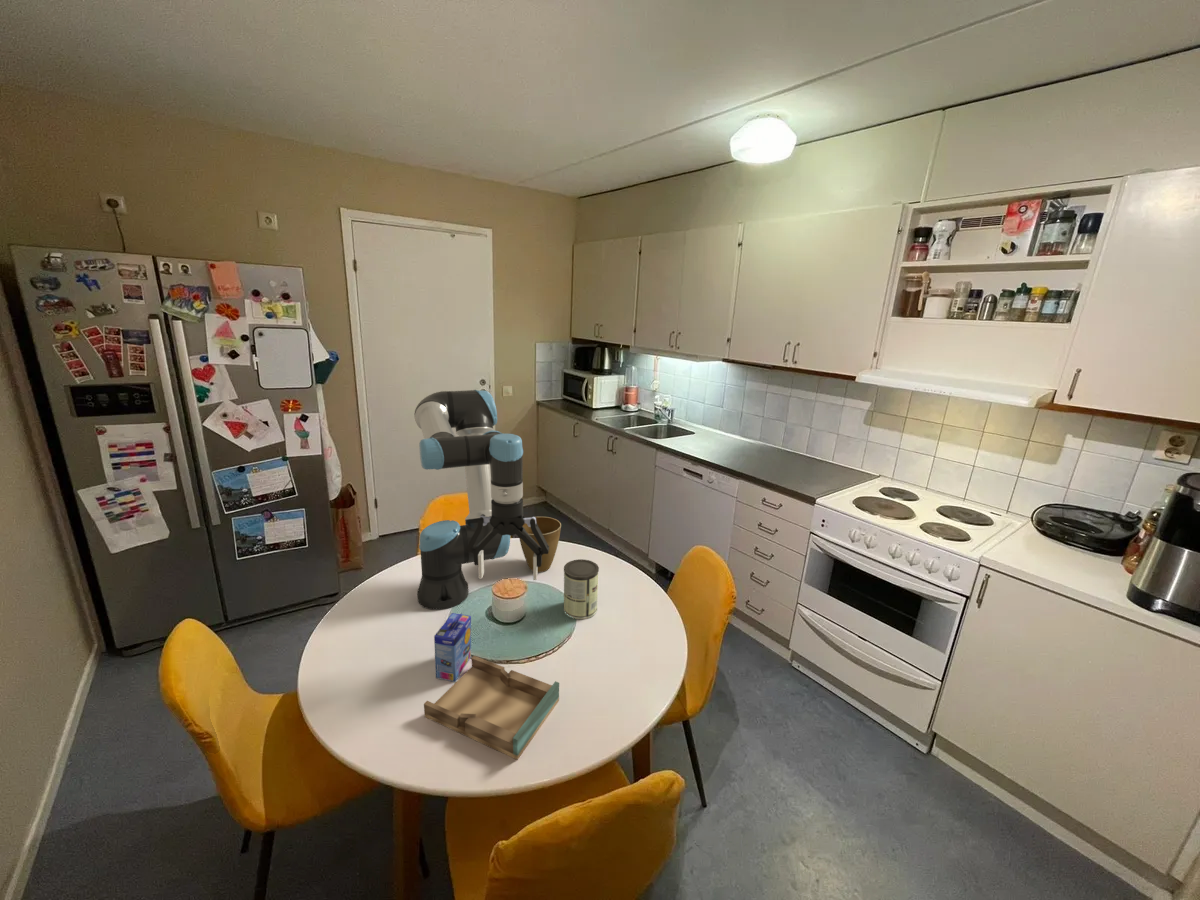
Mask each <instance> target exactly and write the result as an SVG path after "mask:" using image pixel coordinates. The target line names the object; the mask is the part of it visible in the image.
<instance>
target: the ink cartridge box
mask: <svg viewBox="0 0 1200 900" xmlns="http://www.w3.org/2000/svg"><path fill="white" fill-rule="evenodd" d="M433 638H434V639H433V641H434V662H435V663H434V664H435V665H434V666H435V678H436V679H440V680H444V681H448V682H453V683H456V682H457V681H458V678H459V677H460V674H461V673H462V672H463V670H464V668H465V667H466V666H467V664H468V663H469V661H470V659H471V658H472V615H468V614H463V613H462V612H461V613H456V612H452V613H450V615H449V616H448V617H447V619H446V620H445V622H444V623H443V624H442V625H441V627H440V628H439V629H438V631H437V632H436V633H435V634H434V636H433Z"/></svg>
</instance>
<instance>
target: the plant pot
mask: <svg viewBox="0 0 1200 900" xmlns="http://www.w3.org/2000/svg"><path fill="white" fill-rule="evenodd" d="M536 521H537V525H538V527H539V529H540V531H541V533H542V534H543V536H544V538H545V540H546V542H547V544H548V546H549V552H548V554H543V555H542V564H541V567H538V570H537V573H543V572H546V571H549V569H551V566H552V565H553V561H554V560H555V559H554V558H555V556H556V553H557V549H558V546H559V545H558V544H559V542H560V541H559V540H560V535H561V530H562V529H561V528H562V523H561V521H559V520H558V519H556V518H553V517H551V516H550V517H549V516H536ZM523 527H524V528H525V530H526V532H527V533H528V534H529V535H530V536H531V537H532V538H533V539H534V541H535V542H536V543H537V544H538V545H539V543H538V541H537V539H536V538H535V536H534V534H533V532H532V530H531V527H529V526H528V525H527V524H526V523H524V525H523ZM518 538H519V537H518ZM519 544H520V548H521V550H522V553H523V554H522V555H524V558H525V562H526V564H527V565H528V568H529V570H530V571H532V572H533V556H534V552H533V551H532V550H531V549H530V548H529V547H528V545H527V544H526V543H525V542H524V541H523V540H522V539H521V538H519ZM539 546H540V545H539Z"/></svg>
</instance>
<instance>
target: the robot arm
mask: <svg viewBox="0 0 1200 900" xmlns="http://www.w3.org/2000/svg"><path fill="white" fill-rule="evenodd" d="M414 419H415V424H416V425H417V426H418V428H419V429H420V430H421V433H422V436H423V439H420V441H419V458H420V465H421V468H422V469H424V470H438V471H439V470H442V469H453V468H462V467H463V468H464V470H465V471H464V473H465V481H466V489H467V490H466V491H467V492H466V493H467V500H468V502H467V503H468V511H469V513H468V515H467V516H466V517H465V518H464V522H465V524H463V525H462V524H460V523H459V522H458V521H456V520H450V519H447V520H446V519H445V520H440V521H436V522H432V523H431V524H429V525H427V526H426V527H425V528H423V529H422V530H421V532H420V534H419V545H418V549H419V551H420V565H421V566H420V567H421V578H420V581H419V582H420V583H419V585H418V588H417V593H416V595H417V596H416V597H417V603H418V604H419V605H420V606H422V607H423V608H425V609H427V610H428V609H429V610H446V609H451V608H453V607H455V606H457V605H460V604H462V603H463V602H464V601H466V599H467V598H468V596H469V593H470V591H469V590H470V589H469V584H468V582H467V580H466V578H465V574H464V572H463V569H462V565H465V564H469V563H470V564H471V563H474V566H478V579H480V580H481V579H483V576H484V575H485V563H484V562H485V561H488V560H495V559H498V558H503V557H505V556H507V554H508V552H509V549H510V546H511V545H510V544H511V537H512V536H514V535H516V536H517V538H521V539H522V540H523V541H524V542H525V543H526V544H527V545H528V547H529V548H530V549H531V550H532V551H533V552H534V556H533V571H532V572H533V574H532V576H533V577H532V579H533V581H537V579H538V572H537V570H538V567H541V564H542V555H543V554H548V552H549V546H548V544H547V542H546V540H545V538H544V536H543V534H542V533H541V531H540V529H539V527H538V525H537V521H536V517H537V516H536V515H532V516H530V517H525V515H524V499H523V497H524V489H523V488H524V482H523V478H524V476H523V474H524V469H523V467H524V466H523V465H524V462H523V460H524V459H523V456H524V448H523V440H522V438H521V436H519V435H517V434H515V433H502V432H500V430H499V431H498V430H495V429H494V426H497V423H498V411H497V407H496V402H495V399H494V397H493V395H492V394H491V393H490V392H489V391H488V390H481V389H478V390H477V389H473V390H472V389H471V390H451V391H450V390H449V391H448V390H441V391H436V392H433V393H431V394H429V395H426V397H424V398H423V399H421V400H420V401H419V403H418V404H417V405H416V407H415V409H414ZM454 428H455V433H454V431H453V429H454ZM455 434H456V435H457V436H456V435H455ZM524 523H526V524H527V525H528V526H529V527H531V530H532V532H533V534H534V536H535V538H536V539H537V541H538V543H539V545H540V546H539V545H538V544H537V543H536V542H535V541H534V539H533V538H532V537H531V536H530V535H529V534H528V533H527V532H526V530H525V528H524V527H523V525H524ZM461 602H462V603H461Z"/></svg>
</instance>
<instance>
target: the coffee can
mask: <svg viewBox="0 0 1200 900" xmlns="http://www.w3.org/2000/svg"><path fill="white" fill-rule="evenodd" d="M599 570H600V567H599V565H598V564H597V563H596V562H595V561H592V560H589V559H584V558H583V559H581V558H580V559H574V560H570V561H568V562H566V564H564V566H563V612H564V611H565V612H566V614H568V615H569V616H571V617H573V618H572V619H574V618H575V619H574V620H587V619H591V618H592V617H593V616H595V615H596V614H597V612H598V589H599ZM565 612H564V613H565ZM566 614H565V615H566ZM569 616H568V617H569ZM571 617H570V618H571Z"/></svg>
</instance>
